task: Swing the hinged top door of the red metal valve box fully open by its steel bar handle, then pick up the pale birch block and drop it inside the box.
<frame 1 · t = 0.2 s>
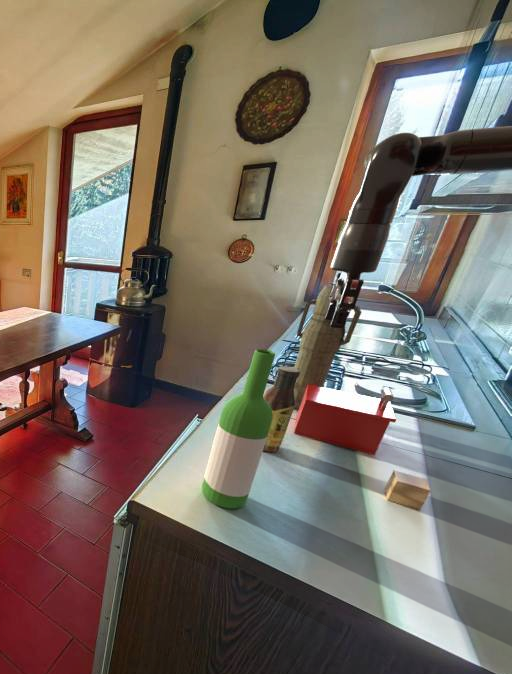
hand: (333, 323, 87), 29 cm above the counter, tool pointing down, fingers open, 8 cm apart
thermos: (298, 405, 115), on the counter
block: (401, 499, 76), on the counter
valve box: (332, 433, 100), on the counter
sauce bottle: (263, 446, 94), on the counter
hatch: (350, 393, 95), point 11 cm above the counter, hinge at 0.0°
wine bottle: (222, 498, 76), on the counter
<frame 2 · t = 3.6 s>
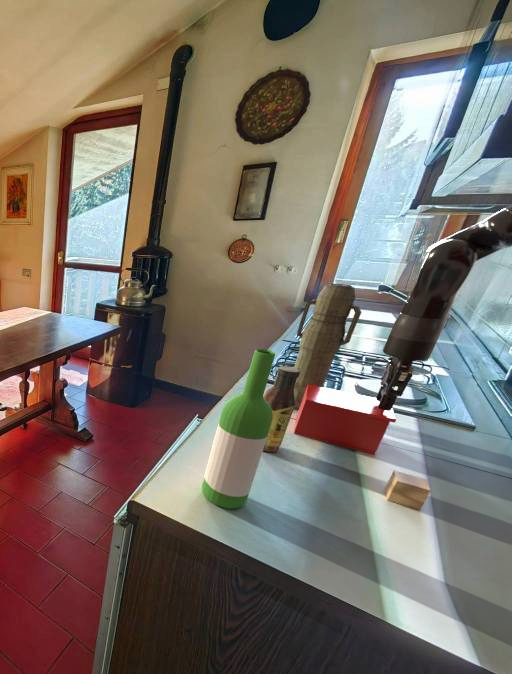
hand: (382, 404, 92), 10 cm above the counter, tool pointing down, fingers closed on hatch, 5 cm apart
hatch: (350, 393, 95), point 11 cm above the counter, hinge at 0.0°, touching gripper
everything else where it was.
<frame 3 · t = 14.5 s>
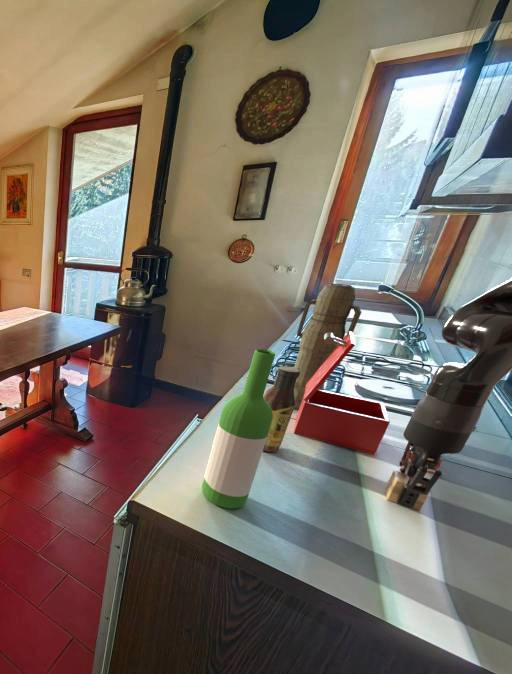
hand: (402, 497, 76), 0 cm above the counter, tool pointing down, fingers closed on block, 4 cm apart
block: (401, 499, 76), on the counter, touching gripper
hatch: (318, 362, 97), point 18 cm above the counter, hinge at 73.3°
everything else where it was.
when the fingers open (13 cm above the counter, at t = 20.7 s): block drops 12 cm, resting on valve box.
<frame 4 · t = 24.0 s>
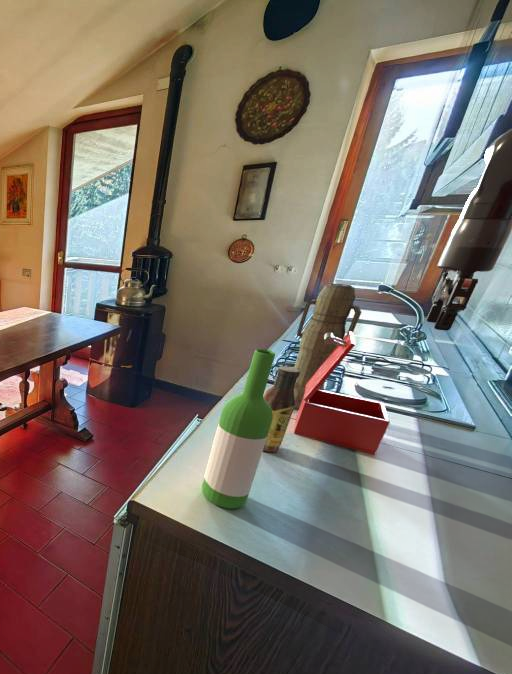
hand: (436, 325, 82), 30 cm above the counter, tool pointing down, fingers open, 8 cm apart
block: (338, 432, 99), point 1 cm above the counter, touching valve box
everything else where it was.
at the end: hatch at +73° (first picture: +0°); block inside the target area in the valve box (1.0 cm from its centre), point 0.8 cm above the valve box's base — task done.
